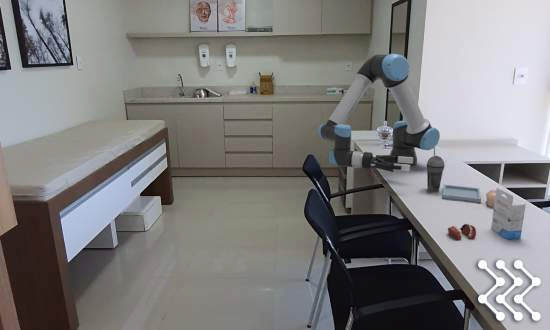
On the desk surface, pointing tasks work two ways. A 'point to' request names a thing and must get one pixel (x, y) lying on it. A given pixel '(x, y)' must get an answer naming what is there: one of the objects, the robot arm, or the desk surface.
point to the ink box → (507, 215)
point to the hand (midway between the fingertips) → (411, 164)
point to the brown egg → (491, 198)
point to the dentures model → (466, 230)
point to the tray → (461, 193)
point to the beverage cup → (434, 173)
